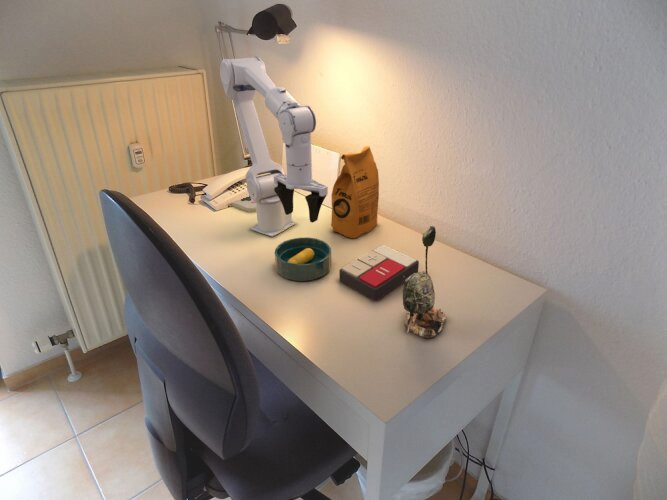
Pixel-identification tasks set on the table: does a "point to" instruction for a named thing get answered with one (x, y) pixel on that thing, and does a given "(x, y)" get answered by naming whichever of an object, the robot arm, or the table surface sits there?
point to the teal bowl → (303, 271)
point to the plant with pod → (422, 298)
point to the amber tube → (302, 257)
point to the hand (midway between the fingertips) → (301, 217)
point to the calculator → (378, 271)
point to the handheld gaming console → (245, 204)
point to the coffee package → (356, 195)
